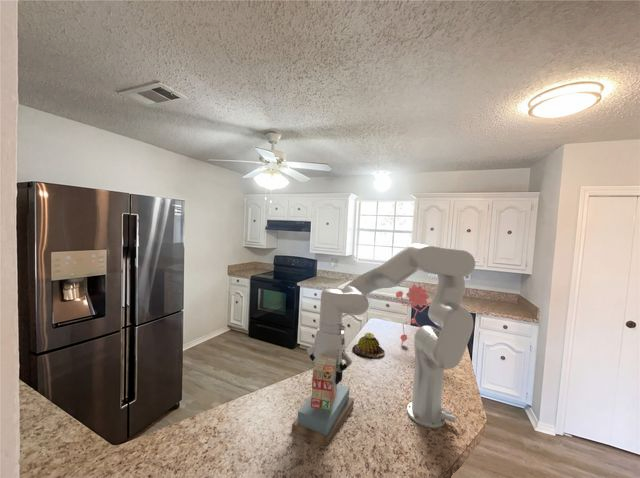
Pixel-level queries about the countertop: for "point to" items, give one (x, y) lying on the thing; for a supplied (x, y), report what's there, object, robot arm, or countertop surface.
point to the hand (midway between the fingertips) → (327, 377)
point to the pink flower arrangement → (414, 302)
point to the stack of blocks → (324, 383)
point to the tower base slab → (324, 439)
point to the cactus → (368, 346)
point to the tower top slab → (323, 412)
